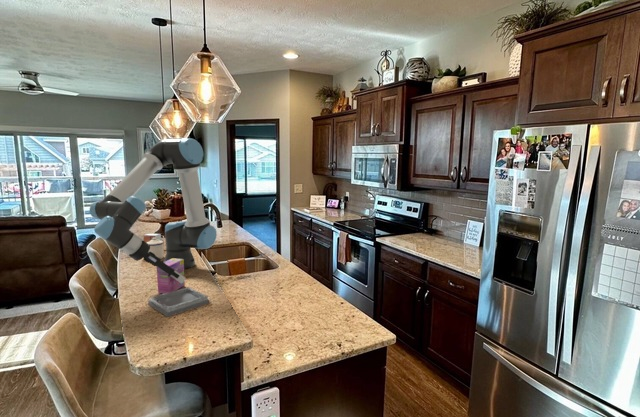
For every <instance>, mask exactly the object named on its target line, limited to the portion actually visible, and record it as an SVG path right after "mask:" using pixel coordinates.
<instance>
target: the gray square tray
mask: <svg viewBox="0 0 640 417" xmlns="http://www.w3.org/2000/svg"><path fill="white" fill-rule="evenodd" d="M197 298H198V297H196V296H194V295H192V294H190V293H189V292H185V293H181V294H178V295H174V296H171V297H167V298H164V299H160V300H159V301H160V302H162V303H164V304H165V305H167V306H169V307H170V306H174V305H177V304H180V303H184V302H187V301H190V300H193V299H197ZM210 302H211V301H210V299H208V300H207V301H203V302H200V303H197V304H194V305H191V306H188V307H184V308H181V309H178V310H175V311H172V312H168V313H167V312H166V311H164V310H163V309H161V308H160V307H158V306H157V305H155V304H153V303H152V302H150V300H147V303H148V306H150V307H151V308H153V309H155V310H156V311H157V312H159V313H161V314H162V315H164V316H165V317H166V318H168V317H171V316H175V315H177V314H180V313H184V312H187V311H191V310H193V309H196V308H200V307H202V305H203V306H205V304H206V305H208V303H209V304H210Z"/></svg>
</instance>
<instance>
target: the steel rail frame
mask: <svg viewBox="0 0 640 417" xmlns="http://www.w3.org/2000/svg"><path fill="white" fill-rule="evenodd" d="M185 292H189V293H190V294H192V295H194V296H196V297H198V298H197V299H193V300H190V301H187V302H184V303H180V304H177V305H174V306H170V307H169V306H167V305H165V304H164V303H162V302H160V301H159V300H160V299H164V298H167V297H171V296H174V295H178V294H181V293H185ZM207 300H209V298H208V296H207V295H206V294H204V293H202V292H199V291H198V290H195V289H193V288H191V287H189V286H186V287H183V288H179V289H177V290H176V291H172V292H168V293H160V294H158V295H153V296H150V297H149V301H150V302H152V303H153V304H155V305H157V306H158V307H160V308H161V309H163V310H164V311H166V312H167V313H168V312H172V311H175V310H178V309H181V308H184V307H188V306H191V305H194V304H197V303H200V302H203V301H207Z"/></svg>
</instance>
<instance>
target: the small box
mask: <svg viewBox="0 0 640 417" xmlns="http://www.w3.org/2000/svg"><path fill="white" fill-rule="evenodd" d="M153 238H156V239H158V240H160V241H162V235H161V233H147V234H143V241H145V242H146V243H147V242H149V241H150V240H153Z"/></svg>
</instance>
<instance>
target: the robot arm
mask: <svg viewBox="0 0 640 417" xmlns="http://www.w3.org/2000/svg"><path fill="white" fill-rule="evenodd" d="M203 159H204V150H203V147H202V145H201V143H200V142H198V140H197V139H194V138H191V137H190V138H188V137H183V138H182V137H181V138H165V139H163V140H162V139H161V140H159V142H156V143H155V144H154V145H153V146H151V147H149V149H148V150H147V151H145V152H144V154H143V155H142V158H141V160H140V161H139V162H138V163H137V164H136V165H135V166H134V167H133V168H132V170H131V171H129V172H128V174H127V175H126V176H125V177H124V178H122V179H121V181H120V182H119V183H118V184H117V185H116V186H115V187H114V188H113V189H112V190H110V192H109V193H107V195H106V196H105V197H104V198H103V199H102V200H98V201H94V202H93V203H91V205H90V207H89V214H90V216H91V217H92V218H93V219H96V220H99V221H98V222H97V224H96V225H95V226H94V230H93V231H94V233H95V234H96V235H98V237H100V238H101V239H103V240H105V241H106V242H108V243H109V244H110V245H112V246H114V247H115V248H117V249H118V250H119V251H120V253H124V254H126V255H128V256H129V257H130V258H131V259H133V260H134V261H140V260H142V259H143V261H144V262H146V263H147V264H148V263H149V264H151V265H152V266H154V267H156V268H157V267H159V268H160V269H162V270H163V271H165V272H166V273H168V277H169V276H171V277H173V278H174V279H175V280H177V281H178V282H180V283H181V284H182V283H183V282H184V281H185V280H186V279H187V278H186V276H185V275H184V276H182V275H181V274H179V273H178V272H177V271H175V270H174V269H172V268H171V267H169V266H168V265H166V264H165V263H164V262H165V261H167V260H170V259H172V258H176V259H184V270H186V269H190V268H193V267H194V266H196V261H195V257H194V255H193V252H192V250H191V249H199V250H207V249H210V248H211V247H213V245H214V244H215V242H216V239H217V233H218V232H217V229H216V227H214V225H211V222H210V219H208V218H207V217H206V213H205V207H204V201H203V196H202V188H201V184H200V179H199V172H198V169H199V168H200V167H201V162H202V161H203ZM168 165H172V168H173V170H174V171H176V172H177V173H178V179H179V185H180V189H181V195H182V199H183V200H182V201H183V205H184V206H183V207H184V211H185V215H186V220H181V221H176V222H175V221H174V222H169V223H166V224H165V226H164V237H165V240H164V241H165V251H166V252H165V255H164V258H163V259H164V260H161V259H160V258H158V257H157V256H155V254H153V253H152V252H149V250H150V245H149V244H148V243H146V242H145V241H144V240H142V238H141V237H139V235H137V234H135V233H134V232H133V231H131V230H130V229H131V228H132V227H133V226H134V224H135V223H136V222H137V220H138V219H139V218H140V217H141V216H142V215H143V213H144V211H145V210H146V207H147V206H146V203H145V202H144V201H143V200H142V199H140V198H139V197H136V194H137V193H138V192H139V190H140V189H142V188H143V186H144V185H145V184H146V183H147V182H148V181H149V180H150V179H151V178H152V176H153V175H154V174H155V173H156V172H157V171H160V170H162V169H163V168H164V167H165V166H168ZM148 252H149V253H148Z"/></svg>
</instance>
